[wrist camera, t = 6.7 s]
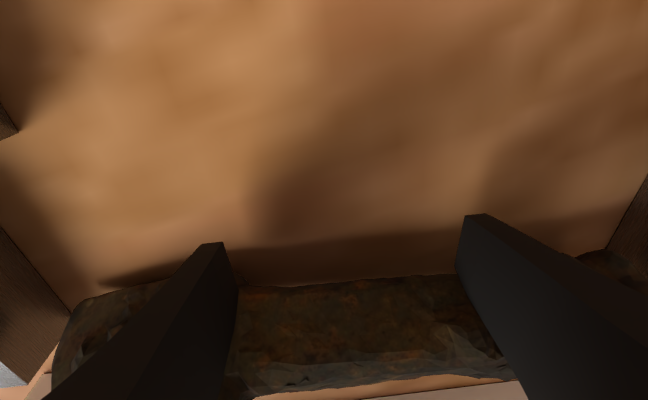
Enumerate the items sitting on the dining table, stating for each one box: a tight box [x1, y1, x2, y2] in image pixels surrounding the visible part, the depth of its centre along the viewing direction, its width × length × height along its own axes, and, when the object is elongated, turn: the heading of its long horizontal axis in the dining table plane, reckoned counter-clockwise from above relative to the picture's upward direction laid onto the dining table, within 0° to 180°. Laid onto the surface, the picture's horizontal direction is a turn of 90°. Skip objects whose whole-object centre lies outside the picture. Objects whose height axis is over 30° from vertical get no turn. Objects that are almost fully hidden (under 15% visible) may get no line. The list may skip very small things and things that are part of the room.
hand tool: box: [51, 249, 648, 400], centre depth 10 cm, size 19×4×5 cm, turn 90°
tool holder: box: [0, 104, 648, 388], centre depth 7 cm, size 14×27×3 cm, turn 94°
